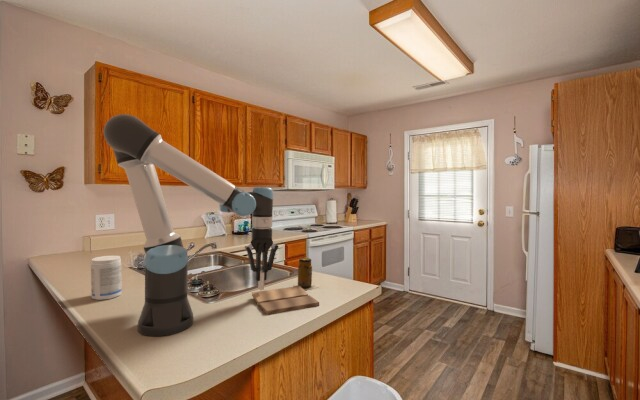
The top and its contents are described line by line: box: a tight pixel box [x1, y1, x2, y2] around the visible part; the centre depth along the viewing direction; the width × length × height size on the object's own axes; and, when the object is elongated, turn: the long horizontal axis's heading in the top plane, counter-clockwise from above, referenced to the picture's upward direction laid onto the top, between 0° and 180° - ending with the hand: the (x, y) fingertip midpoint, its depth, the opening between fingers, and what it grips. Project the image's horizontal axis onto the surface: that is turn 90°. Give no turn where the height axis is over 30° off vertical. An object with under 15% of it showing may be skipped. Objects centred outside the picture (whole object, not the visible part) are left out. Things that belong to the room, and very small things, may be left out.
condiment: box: [293, 257, 319, 291], centre depth 137 cm, size 7×8×12 cm
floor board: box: [258, 294, 320, 315], centre depth 114 cm, size 20×9×1 cm, turn 118°
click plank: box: [251, 286, 309, 306], centre depth 122 cm, size 20×8×1 cm, turn 118°
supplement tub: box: [90, 255, 123, 301], centre depth 119 cm, size 10×10×15 cm
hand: (260, 288), depth 121 cm, fingers closed
